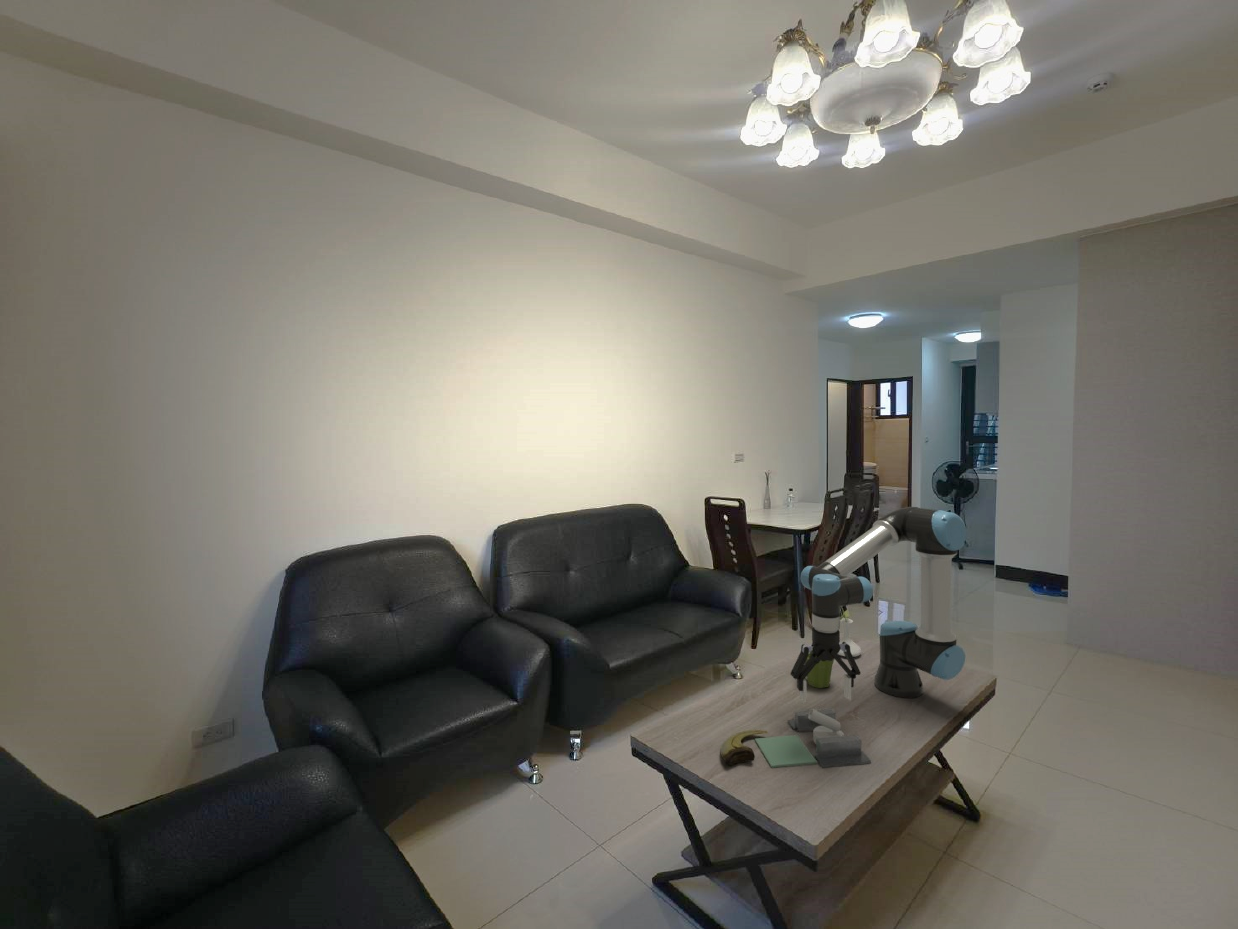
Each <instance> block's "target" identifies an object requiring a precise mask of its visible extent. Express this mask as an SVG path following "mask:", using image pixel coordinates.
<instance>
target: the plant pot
mask: <svg viewBox="0 0 1238 929" xmlns="http://www.w3.org/2000/svg"><path fill="white" fill-rule="evenodd" d="M812 653H813V652H812V651H811V652H810V654H808V658H807V660H806V662H807V661H808V659H809V658H810V655H811V654H812ZM815 658H817V657H815ZM834 661H835V659H833V660H832V661H828V660H827V661H821V660H820V662H819V663H818V664H816V665H815V666H814V668H813V669H812V670H811V671H810V673H809V674H808V675H807V676H806V679H807V683H808V685H810V686H811V687H814V688H817V689H824V688H828V687H829V686H830V684H831V683H830V682H831V676H832V670H833V664H834ZM806 662H805V663H806Z"/></svg>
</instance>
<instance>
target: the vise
mask: <svg viewBox="0 0 1238 929" xmlns="http://www.w3.org/2000/svg"><path fill="white" fill-rule="evenodd" d="M810 710H811V709H810ZM810 710H797V711H794V719H787V723H788V725H789V726H790V728H791V729H792V730H793V731H797V732H798V733H800V732H810V731H814V729H815V728H816V727H818V726H823V725H821V724H819V723H816V722H814V721H812V720H810V719H809V718H808V715H809V712H810ZM815 710H816V711H818V712H820V713H822V714H824V715H826V716H829V717H831V718H833V719H835V720H837V718H836V717H837V714H836V711H835V710H833V708H823V709H815ZM815 746H816V748H815V750H816V754H814V758H815V760H816V761H817V764H819V766H820V767H821V768H822V769H825V768H835V767H846V766H855V765H864V764H865V765H868V764H871V763H872V760H871V759H870V758H869V757H868V756H867V754H866V753H865V752H864V751H863V750H862V739H861V737H859V736H858V735H857V734H851V735H845V736H838V737H827V738H816V744H815Z"/></svg>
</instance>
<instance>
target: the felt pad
mask: <svg viewBox="0 0 1238 929" xmlns="http://www.w3.org/2000/svg"><path fill="white" fill-rule="evenodd" d="M754 741H755V743H756V745H757V747H758V748H759V750H760V751H761V753H762V755H763V756H764V758H765V760H766V761H767V763H768V764H769V766H770V768H772V769H773V768H783V767H785V768H786V767H795V766H805V765H815V764H818V762H817V760H816V759H815V756H814V755H813V754H812V753H811V752H810V750H809V749H808V748H807V746H806V745H805V743H803V740H801V738H800V737H799V736H798V734H794V735H781V736H779V735H778V736H772V737H771V736H769V737H760V738H759V737H758V738H757V737H756V738H754Z"/></svg>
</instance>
